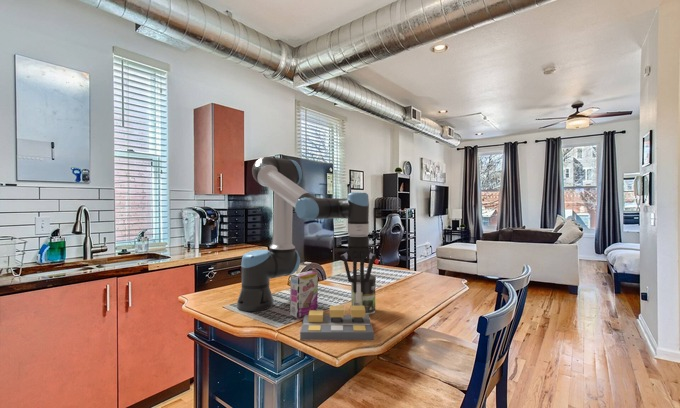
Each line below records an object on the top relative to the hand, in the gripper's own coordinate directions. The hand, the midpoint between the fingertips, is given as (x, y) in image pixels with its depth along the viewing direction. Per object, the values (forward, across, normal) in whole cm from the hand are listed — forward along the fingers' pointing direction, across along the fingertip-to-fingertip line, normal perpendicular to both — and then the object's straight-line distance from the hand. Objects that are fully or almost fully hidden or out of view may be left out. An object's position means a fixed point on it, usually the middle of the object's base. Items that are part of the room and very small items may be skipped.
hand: (358, 301), depth 114 cm
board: (+9, -8, -2) cm, 12 cm away
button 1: (+9, -15, 0) cm, 18 cm away
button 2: (+7, -8, 0) cm, 11 cm away
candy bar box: (+9, -21, +14) cm, 27 cm away
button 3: (+7, 0, 0) cm, 7 cm away
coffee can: (+10, +3, +18) cm, 20 cm away
